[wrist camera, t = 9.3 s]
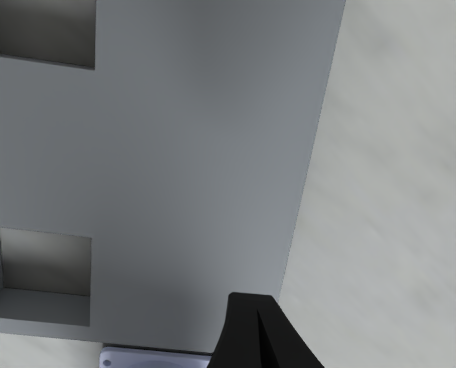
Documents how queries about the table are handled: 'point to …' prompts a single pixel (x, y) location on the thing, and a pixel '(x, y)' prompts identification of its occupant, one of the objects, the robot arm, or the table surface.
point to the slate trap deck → (165, 163)
